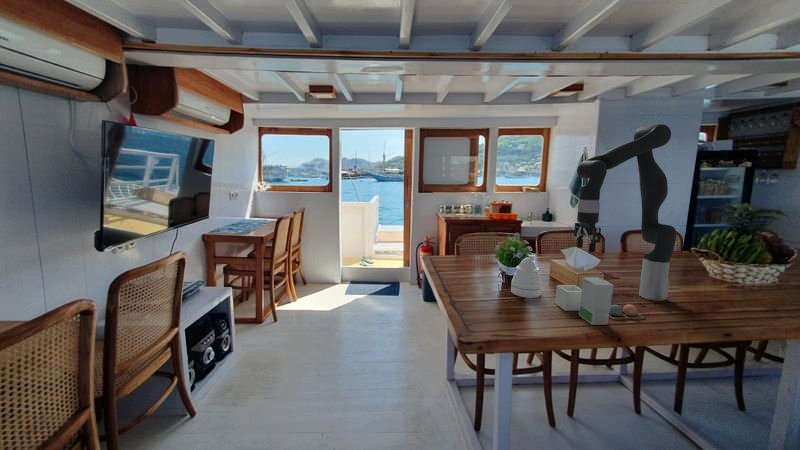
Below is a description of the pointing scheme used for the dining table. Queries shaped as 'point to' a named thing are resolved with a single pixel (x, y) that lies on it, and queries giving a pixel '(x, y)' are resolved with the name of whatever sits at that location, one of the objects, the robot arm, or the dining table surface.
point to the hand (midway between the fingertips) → (585, 249)
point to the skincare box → (595, 300)
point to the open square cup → (568, 297)
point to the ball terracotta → (630, 310)
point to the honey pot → (526, 279)
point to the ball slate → (615, 310)
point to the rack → (626, 317)
